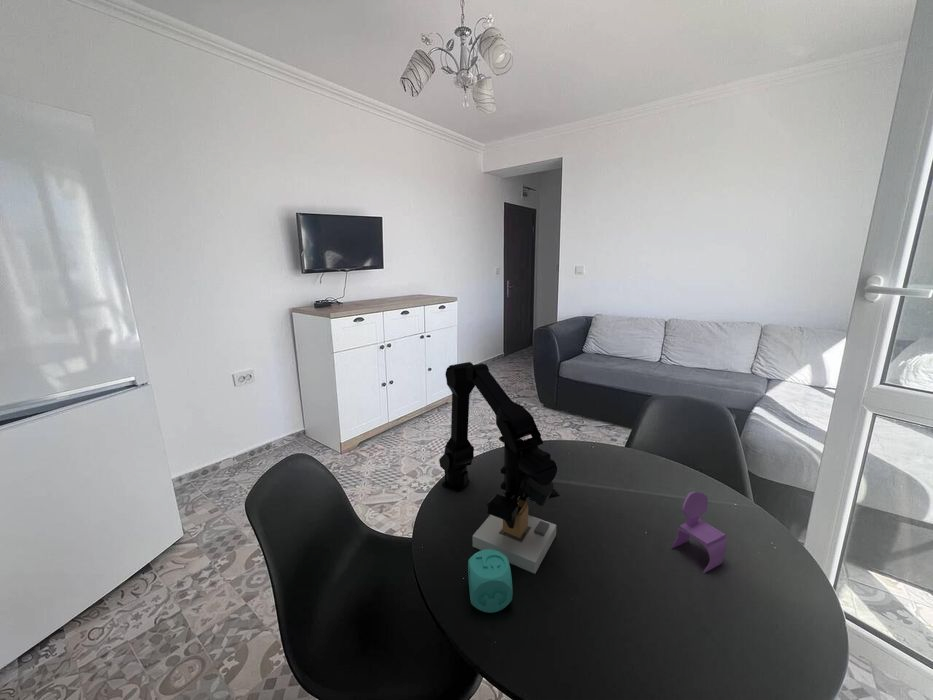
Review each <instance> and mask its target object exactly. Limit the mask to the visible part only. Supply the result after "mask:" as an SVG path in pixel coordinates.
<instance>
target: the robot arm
mask: <svg viewBox="0 0 933 700" xmlns="http://www.w3.org/2000/svg"><path fill="white" fill-rule="evenodd" d="M444 375H445V380H446V386H447V387H448V388H449V390H450V391H451V421H450V422H451V423H450V425H451V426H450V428H451V429H450V437H449V439H448V441H447V442H446V444H445V447H444V453H443V455H441V457H440V458H439V459H438V462H439V466H440V468H441V469H442V470H443V471H444V481H443V482H442V483H441V486H442V487H445V488H447V489H450V490H453V491H456V492H460V491H462V489H464V488H465V487H466V486H467V485H468V484H469V483H470V482H471V480H470V479H469V471H468V467H467V466H472V462H473V459H474V458H475V453H474V451H475V447H474V446H473V445H472V443H471V442H470V441H469V437H468V435H469V419H470V418H469V414H470V394H471V393H472V391H473V390H474V388H476V389H477V390H478V391H479V393H480V394H481V396H482V398H483V399H485V401H486V402H487V404H488V405H489V407H490V409H492V411H493V413H494V414H495V425H496V427H497V429H498V430H499V433H500V435H501V436H500V437H498V440H499V441H500V442H502V443H503V445H504V446H503V447H504V448H503V449H504V453H503V466H502V467H501V468H500V474H503V482H502V483H501V484H500V489H501V490H503V491H505V492H504V493H503V495H502V494H498V493H497V494H495V495H493V496H492V498H490V500H489V501H488V502H487V503H486V513H487V514H488V515H489V516H490V515H493V516H496V517H498V518H501V519H503V520H505V522H506V523H507V525H508V527H509V528H511V529H513V527H514V522H515V517H516V515H517V514H518V513H519V512H520V510H521V509H522V507H519V506H518V503H519V501H518V499H520V500H523V501H526V502H528V501H527V500H528V499H529V498H531V499H532V500H533V501H535V502H534V503H536V504H537V505H538V506H540V507H543V506H545V504H546V502H547V501H548V500H549V499H550V498H549V496H550V494H551V492H552V490H553V488H554V487H555V486H554V484H555V483H553V481H554V479H555V477H556V475H557V472H558V466H557V463H556V461H555V460H553V459H552V458H551V456H552V455H551V454H550V453H549V452H548V451H545V450H542V449H541V448H539V446H541V445H543V444H544V440H543V438H542V434H541V432H540V431H539V428H538V426H537V423H536V421H535V419H534V417H533V415H532V414H531V412H529V410H527V409H526V408H525V407H524V406H523V405H522V404H519V403H517V402H514V401H513V400H512V399H511V398H510V396H509V395H508V394H507V393H506V392H505V390H504V389H503V388H502V386H501V384H500V383H499V382H498V381H497V380H496V378H495V377H494V376H493V375H492V373H491V372H490V370H489V366H488V365H487V364H486V363H482V362H481V363H477V364H473V363H472V362H470V361H468V362H462V363H456V364H450V365H449V366H448V367H446V370H445V374H444ZM528 436H531V437H529V438H527V439H522V438H525V437H528ZM554 489H555V488H554ZM528 497H529V498H528ZM548 498H549V499H548Z"/></svg>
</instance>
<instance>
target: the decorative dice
mask: <svg viewBox="0 0 933 700" xmlns="http://www.w3.org/2000/svg"><path fill="white" fill-rule="evenodd" d="M467 570H468V571H467V572H468V587H469V589H468V590H469V597H470V604H471V605H472V607H474V608H475V609H477V610H479V611H480V612H483V613H490V614H493V613H497V612H500V611H502V610H504V609H505V608H506V607H507V606H508V605H509V604H510V603H511V602H512V600H513V579H512V571H511V570H512V569H511V565H510V563H509V561H508V558H507V557H506V556H505V555H504V554H502V553H501V552H499V551H496V550H492V549H485V550H479V551H476V553H474V554H473V555H472V556H470V557H469V559H468V561H467Z"/></svg>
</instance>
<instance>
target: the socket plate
mask: <svg viewBox="0 0 933 700" xmlns="http://www.w3.org/2000/svg"><path fill="white" fill-rule="evenodd" d="M557 526H558V525H557V524H555V523H552V522H550V521H546V520H544V519H541V518H538V517H536V516H533V515H530V514H528V527H527V529H526V530H525V532H524V533H523V535H522V536H521V538H519V537H516V536H514V535H511V534H509V533H506V532H504V531H503V519H501V518H498V517H496V516H493V515H490V514H489V516H488V517H487V518H486V519H485V521H484V522H483V523H482V524H481V525H480V527H478V529H477V530H476V531H475V532H474V533H473V535H472V548H476V549H477V550H479V551H481V550H485V549H492V550H496V551H499V552H501V553H502V554H504V555H505V556H506V557H507V558H508V561H509V564H511V565H514V566H516V567H518V568H520V569H523V570H525V571H527V572H529V573H532V574H534V575H536V573H537V572H538V570H539V567H540V566H541V563H542V562H543V560H544V558H545V557H546V554H547V553H548V551H549V549H550V547H551V546H552V543H553V542H554V539H555V538H556V537H557Z"/></svg>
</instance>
